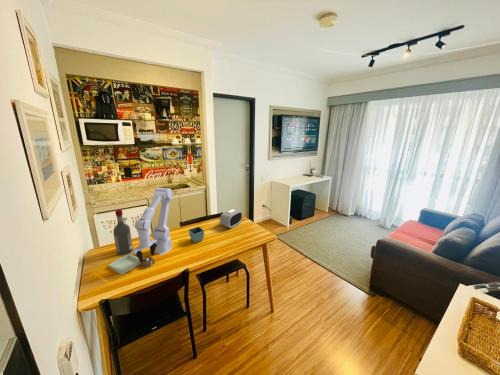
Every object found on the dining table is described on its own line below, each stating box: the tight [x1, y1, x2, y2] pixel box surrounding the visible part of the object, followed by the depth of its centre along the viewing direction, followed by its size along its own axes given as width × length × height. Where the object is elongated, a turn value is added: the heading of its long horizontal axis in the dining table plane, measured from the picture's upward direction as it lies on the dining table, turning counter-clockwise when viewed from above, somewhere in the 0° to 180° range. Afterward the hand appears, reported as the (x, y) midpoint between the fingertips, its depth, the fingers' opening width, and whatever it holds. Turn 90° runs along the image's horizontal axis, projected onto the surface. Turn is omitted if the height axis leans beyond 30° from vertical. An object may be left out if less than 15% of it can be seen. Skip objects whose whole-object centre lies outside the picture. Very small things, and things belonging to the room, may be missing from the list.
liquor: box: [112, 209, 134, 257], centre depth 134 cm, size 9×9×30 cm
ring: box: [140, 256, 156, 269], centre depth 125 cm, size 6×6×3 cm
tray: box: [108, 253, 141, 276], centre depth 124 cm, size 13×13×3 cm
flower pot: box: [188, 226, 205, 244], centre depth 152 cm, size 9×9×9 cm
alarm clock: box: [219, 208, 244, 229], centre depth 179 cm, size 21×10×13 cm, turn 147°
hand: (146, 258), depth 124 cm, fingers open, 7 cm apart
